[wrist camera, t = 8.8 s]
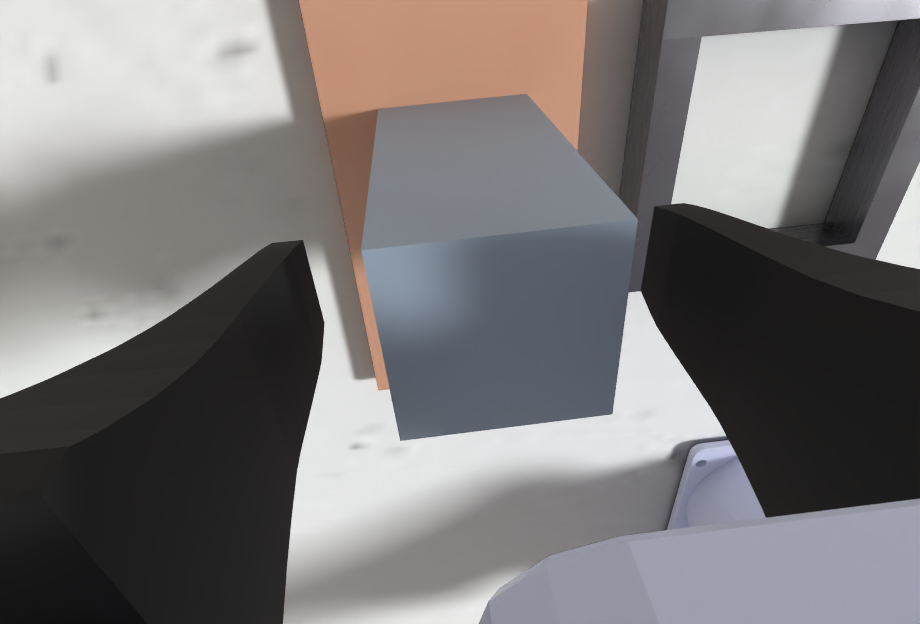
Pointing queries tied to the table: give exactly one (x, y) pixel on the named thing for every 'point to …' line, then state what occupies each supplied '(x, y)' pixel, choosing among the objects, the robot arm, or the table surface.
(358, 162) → the terracotta tile
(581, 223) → the metal peg
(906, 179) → the iron collar
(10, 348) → the table surface
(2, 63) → the table surface
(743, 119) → the table surface
